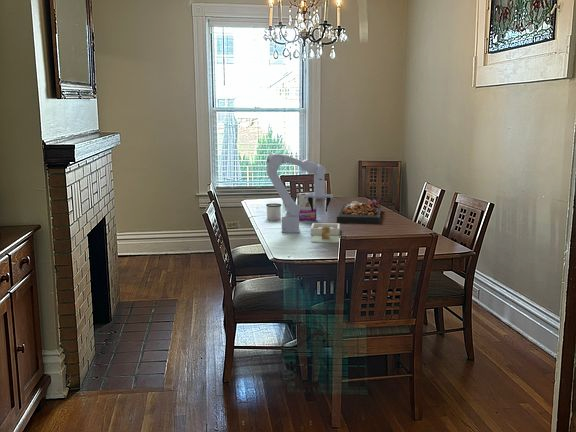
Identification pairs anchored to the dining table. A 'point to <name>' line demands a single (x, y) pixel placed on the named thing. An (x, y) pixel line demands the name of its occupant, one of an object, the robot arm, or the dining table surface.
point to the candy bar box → (306, 207)
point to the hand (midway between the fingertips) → (319, 211)
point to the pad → (319, 239)
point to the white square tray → (317, 227)
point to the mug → (273, 211)
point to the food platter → (360, 213)
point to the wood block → (325, 232)
